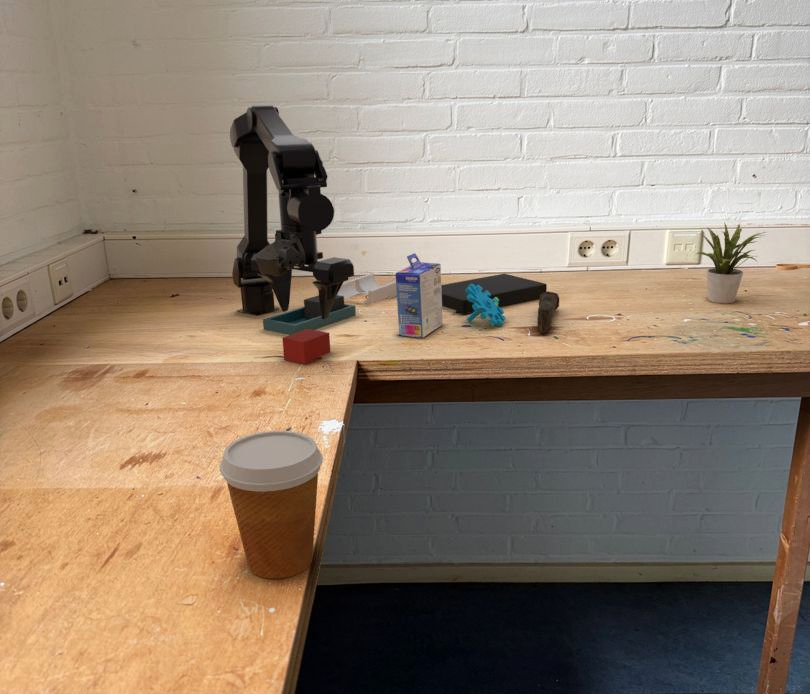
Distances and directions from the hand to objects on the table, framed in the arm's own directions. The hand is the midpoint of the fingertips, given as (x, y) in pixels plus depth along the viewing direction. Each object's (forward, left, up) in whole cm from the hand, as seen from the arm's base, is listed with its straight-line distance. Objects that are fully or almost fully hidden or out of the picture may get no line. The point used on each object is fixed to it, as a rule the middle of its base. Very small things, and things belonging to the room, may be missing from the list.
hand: (304, 314), depth 136 cm
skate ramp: (-20, +41, -8) cm, 46 cm away
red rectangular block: (0, 0, -8) cm, 8 cm away
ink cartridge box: (+7, +24, -8) cm, 26 cm away
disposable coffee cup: (+42, -49, -8) cm, 65 cm away
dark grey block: (-14, +20, -7) cm, 25 cm away
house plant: (+49, +75, -8) cm, 90 cm away
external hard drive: (+5, +51, -8) cm, 52 cm away
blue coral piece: (+15, +35, -8) cm, 39 cm away
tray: (-14, +16, -8) cm, 22 cm away
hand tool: (+25, +42, -8) cm, 49 cm away
